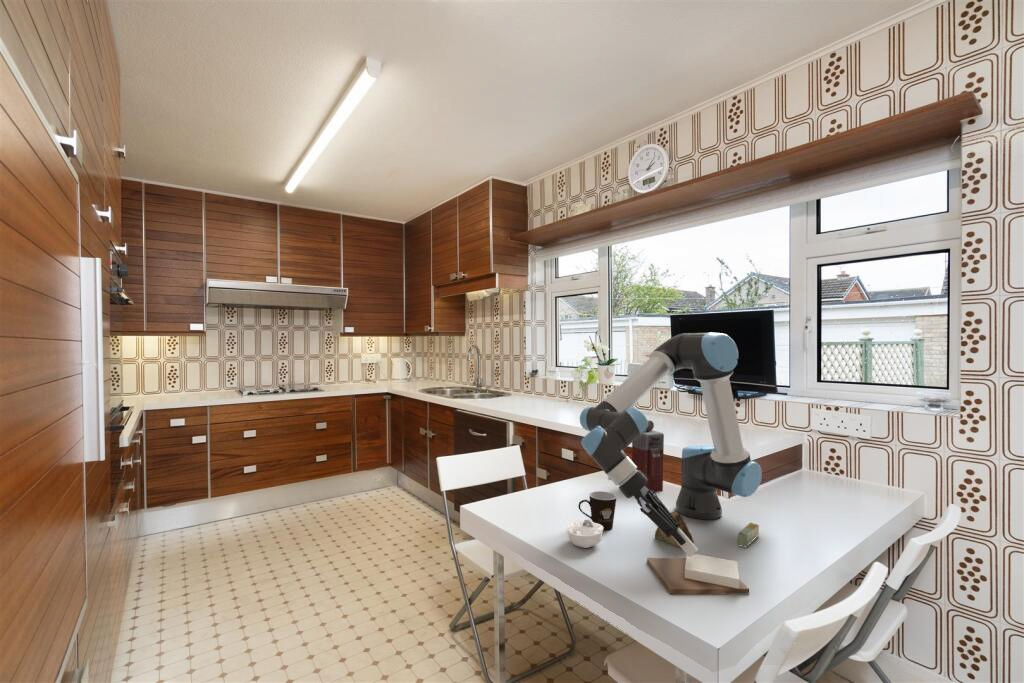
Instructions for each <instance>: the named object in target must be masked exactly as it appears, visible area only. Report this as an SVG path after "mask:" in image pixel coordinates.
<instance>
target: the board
mask: <svg viewBox="0 0 1024 683" xmlns="http://www.w3.org/2000/svg"><path fill="white" fill-rule="evenodd" d="M646 563H647V565H648V566H649V567H650V569H651V570H652V572H653V573H654V572H655V573H654V574H655V576H656V577H657V579H658V580H659V579H660V580H659V582H661V583H663V584H662V585H663V586H664V587H665V589H666V591H667V590H668V591H667V592H668V593H669V595H722V594H721V593H725V594H724V595H731V594H730V593H749V594H750V587H748V586H747V585H746V584H745V583H744V582H743V581H742V580H741V579H739V589H736V588H731V587H726V586H721V585H716V584H711V583H706V582H701V581H696V580H691V579H686V578H685V564H686V557H647V558H646Z"/></svg>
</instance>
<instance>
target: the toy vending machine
mask: <svg viewBox="0 0 1024 683" xmlns="http://www.w3.org/2000/svg"><path fill="white" fill-rule="evenodd" d="M647 420H648V427H647V429H646V430H645V431H644V432H643V433H642V434H641V436H639V437H638V438H637V439H635V440H634V441H633V442H632V443H631V461H632V462H633V463H634V464H635V465H636V466H637V469H636V470H639V471H641V472H642V473H643V474H644V475H645V477H646V478H647V479H648V482H647V484H646V485H645V487H646V488H648V489H649V490H651V491H652V490H653V491H655V493H658V492H657V491H660V492H663V491H664V454H665V453H664V452H665V451H664V450H665V449H664V445H665V444H664V442H665V439H664V438H665V435H664V433H663V432H661V431H657V430H653V429H654V427H655V424H654V421H652V420H649V419H647Z"/></svg>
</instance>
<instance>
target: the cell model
mask: <svg viewBox="0 0 1024 683" xmlns="http://www.w3.org/2000/svg"><path fill="white" fill-rule="evenodd" d="M603 528H604V527H603V526H602V525H600V524H598V523H594V522H592V520H591V519H590V518H589V519H585V520H578V521H574V522H571V523H569V524H568V525H567V534H568V536H567V537H568V540H569V541H570V542H571V543H572V544H573V545H575V546H576V547H578V548H579V547H580V548H584V549H589V548H590V547H594V546H597V545H599V544H600V542H601V541H602V538H603V533H604V531H603Z"/></svg>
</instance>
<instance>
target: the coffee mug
mask: <svg viewBox="0 0 1024 683" xmlns="http://www.w3.org/2000/svg"><path fill="white" fill-rule="evenodd" d="M588 495H589V500H587V499H582V500H581V501H579V503H578V505H577V506H578V510H579V511H580V512H581V513H582V514H583V515H584V516H586V517H588V518H589V519H590V520H591V521H592V522H594V523H598V524H600V525H602V526H603V527H604V528H603V530H605V531H604V532H607V530H608V531H611V530H613V526H614V519H615V512H616V503H617V497H618V496H617V495H616V494H614V493H613V492H609V491H599V490H598V491H597V490H596V491H591V492H590V493H589V494H588ZM583 503H587V504H588V505H589V507H590V515H589V514H588V513H587V512H584V511H583V510H582V509H581V505H582V504H583Z"/></svg>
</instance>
